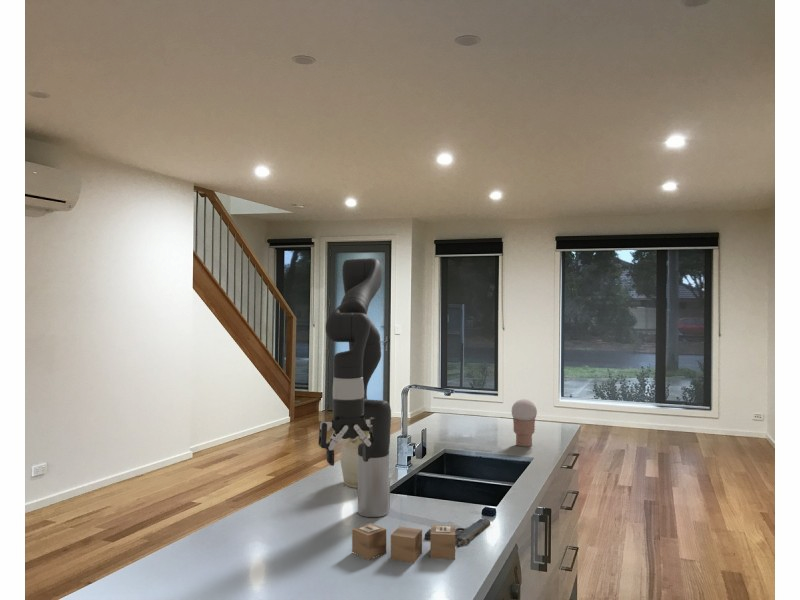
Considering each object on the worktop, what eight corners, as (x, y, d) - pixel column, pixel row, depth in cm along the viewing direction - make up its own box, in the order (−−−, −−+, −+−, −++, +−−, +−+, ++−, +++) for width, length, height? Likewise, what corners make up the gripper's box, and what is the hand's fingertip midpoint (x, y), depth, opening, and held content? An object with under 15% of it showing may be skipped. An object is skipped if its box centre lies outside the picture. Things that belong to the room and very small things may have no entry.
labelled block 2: (431, 548, 155) (431, 523, 155) (455, 549, 154) (455, 524, 155) (430, 558, 149) (430, 532, 149) (455, 559, 149) (455, 533, 149)
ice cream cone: (540, 444, 269) (540, 398, 269) (531, 449, 260) (531, 402, 260) (517, 441, 275) (517, 396, 275) (507, 445, 266) (507, 399, 266)
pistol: (452, 519, 178) (491, 526, 171) (422, 540, 161) (463, 550, 155) (452, 511, 178) (491, 519, 171) (421, 532, 161) (463, 541, 155)
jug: (358, 493, 199) (358, 416, 200) (331, 482, 211) (331, 410, 211) (393, 484, 209) (394, 411, 210) (366, 474, 221) (366, 405, 221)
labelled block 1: (370, 546, 156) (370, 522, 156) (386, 553, 152) (386, 528, 152) (352, 553, 152) (352, 528, 152) (368, 560, 148) (368, 534, 148)
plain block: (399, 550, 154) (399, 526, 154) (422, 553, 152) (422, 529, 152) (390, 559, 148) (390, 534, 148) (414, 563, 146) (414, 538, 146)
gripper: (370, 391, 153) (371, 456, 153) (315, 395, 148) (315, 462, 148) (381, 396, 146) (381, 463, 146) (323, 400, 141) (324, 470, 141)
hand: (348, 463), depth 147 cm, fingers open, 8 cm apart
